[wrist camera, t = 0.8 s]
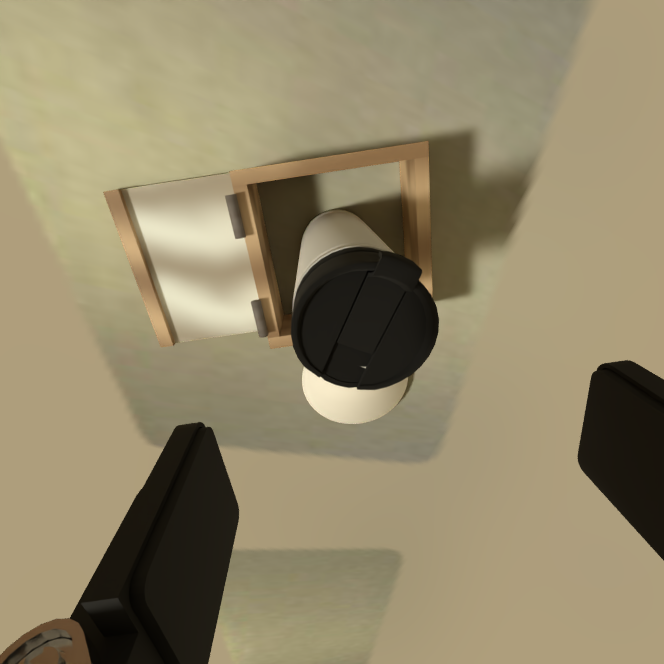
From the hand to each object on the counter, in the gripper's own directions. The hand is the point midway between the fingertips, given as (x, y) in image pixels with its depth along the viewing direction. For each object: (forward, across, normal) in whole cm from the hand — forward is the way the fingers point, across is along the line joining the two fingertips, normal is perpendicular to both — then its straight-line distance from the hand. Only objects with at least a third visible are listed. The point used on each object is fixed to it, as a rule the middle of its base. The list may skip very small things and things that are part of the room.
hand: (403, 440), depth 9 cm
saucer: (+26, 0, +14) cm, 29 cm away
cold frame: (+26, +6, 0) cm, 27 cm away
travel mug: (+26, 0, 0) cm, 26 cm away
